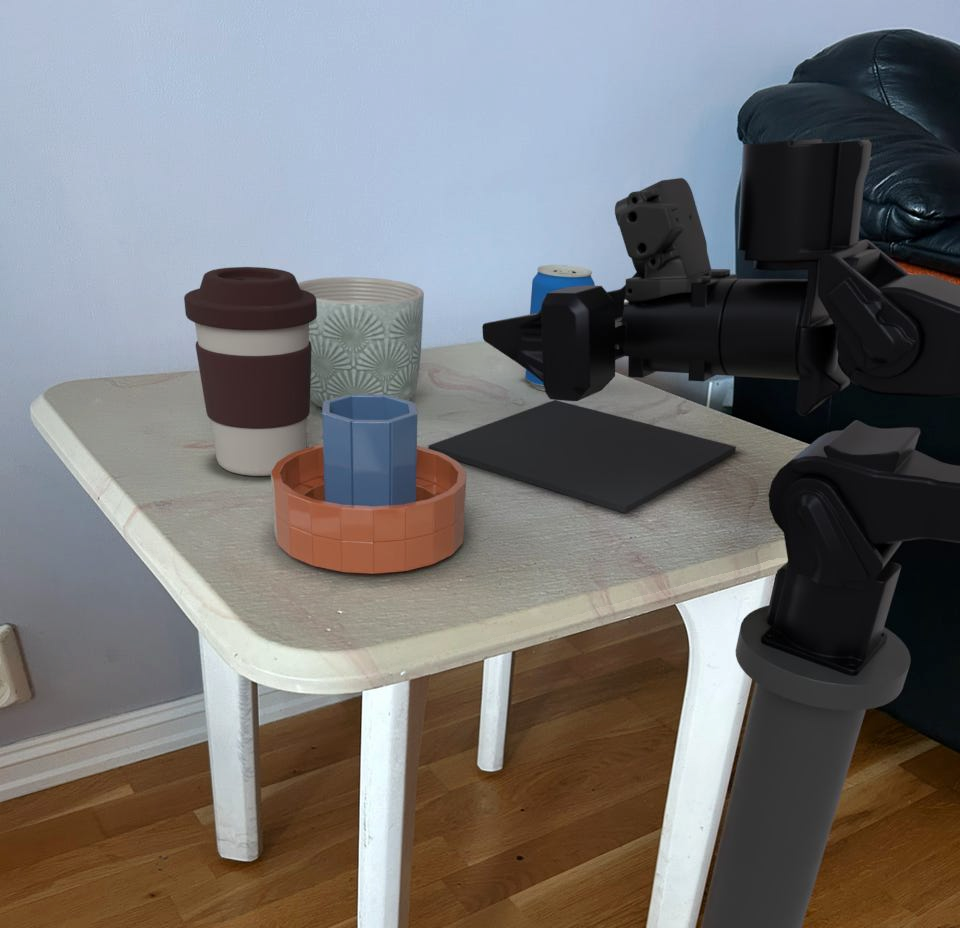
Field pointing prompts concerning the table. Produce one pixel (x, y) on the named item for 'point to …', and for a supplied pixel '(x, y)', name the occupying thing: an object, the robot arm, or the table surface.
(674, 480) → the mat
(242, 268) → the coffee cup
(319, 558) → the bowl
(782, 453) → the table surface
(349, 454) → the blue cup
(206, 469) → the table surface
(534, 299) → the beverage can
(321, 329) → the planter
